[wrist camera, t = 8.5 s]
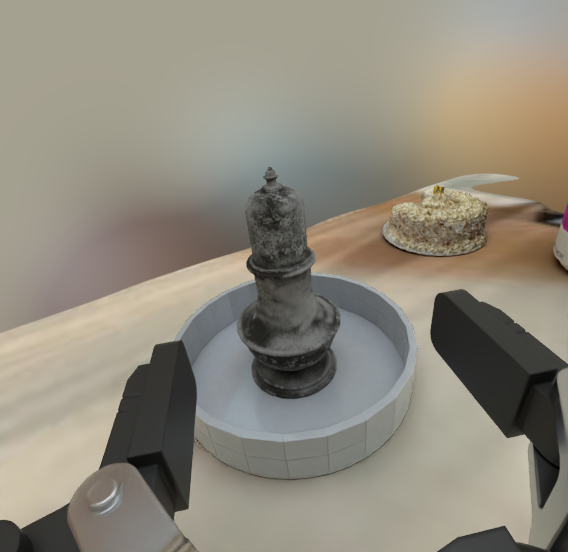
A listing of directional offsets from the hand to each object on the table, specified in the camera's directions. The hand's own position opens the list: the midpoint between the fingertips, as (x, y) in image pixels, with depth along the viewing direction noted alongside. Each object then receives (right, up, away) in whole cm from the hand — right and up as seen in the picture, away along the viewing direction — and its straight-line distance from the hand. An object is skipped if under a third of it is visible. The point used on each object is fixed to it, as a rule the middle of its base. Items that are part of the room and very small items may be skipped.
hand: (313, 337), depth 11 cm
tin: (0, -4, +11) cm, 11 cm away
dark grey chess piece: (0, -4, +11) cm, 11 cm away
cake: (+14, +6, +25) cm, 29 cm away
